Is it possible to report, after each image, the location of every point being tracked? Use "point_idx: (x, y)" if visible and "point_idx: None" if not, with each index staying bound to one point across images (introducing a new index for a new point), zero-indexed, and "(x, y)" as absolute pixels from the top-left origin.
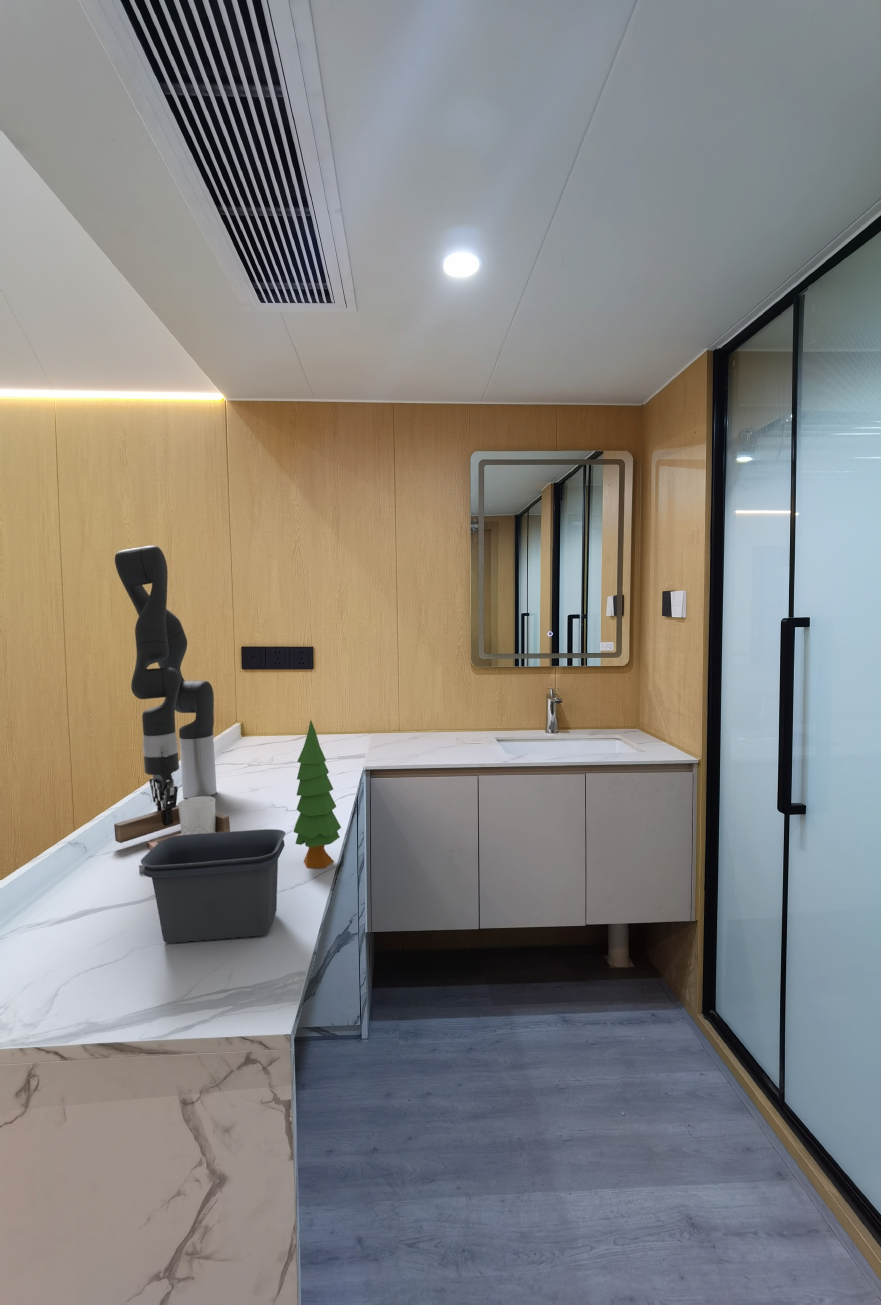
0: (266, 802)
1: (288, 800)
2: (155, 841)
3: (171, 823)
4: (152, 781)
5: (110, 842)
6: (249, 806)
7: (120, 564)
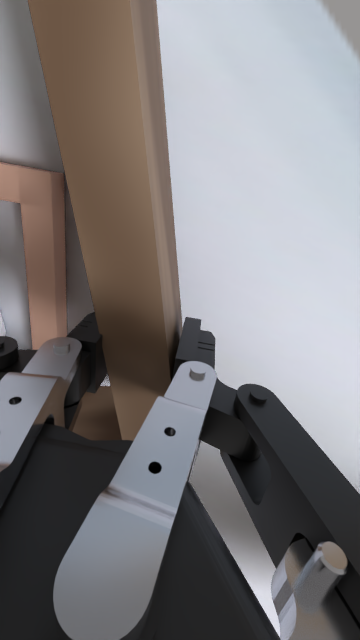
0: None
1: None
2: (24, 201)
3: None
4: (105, 604)
5: (304, 50)
6: None
7: None
